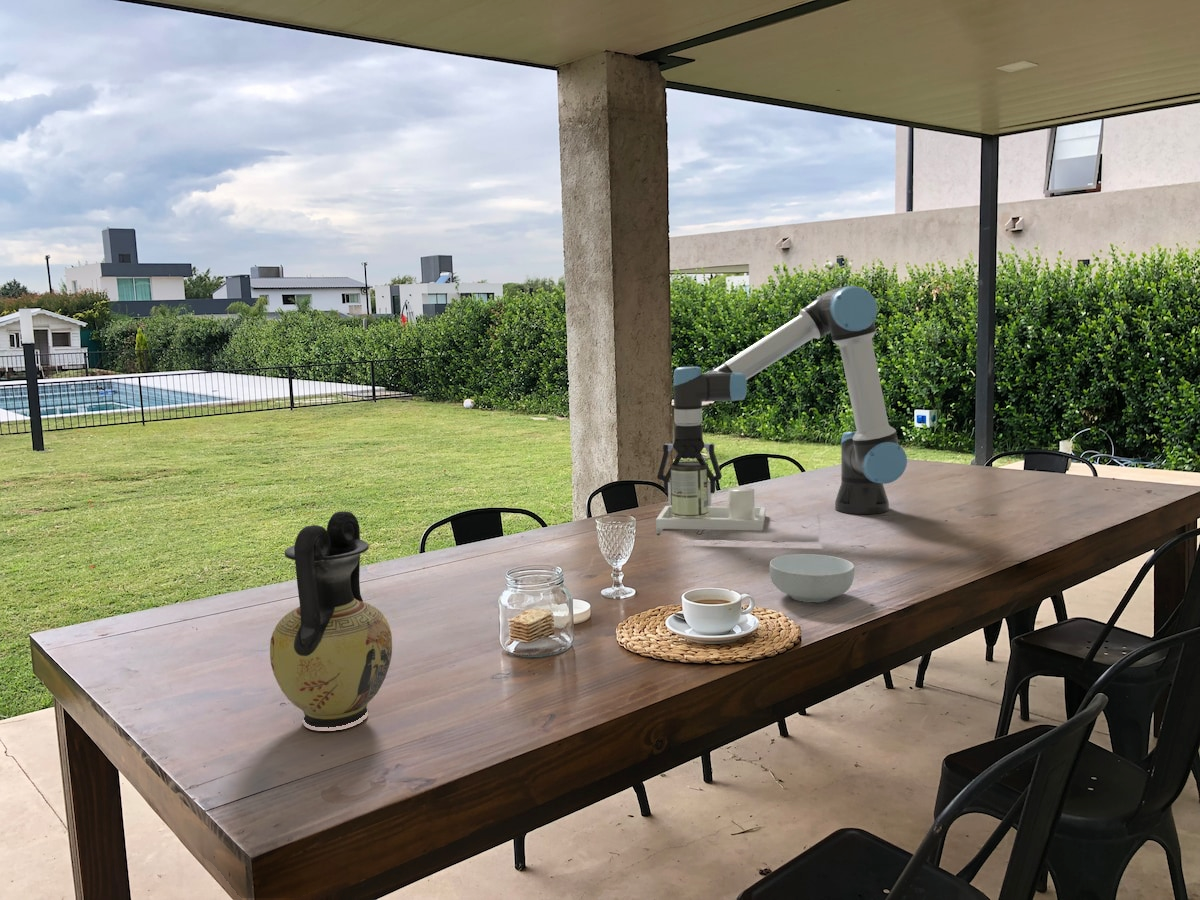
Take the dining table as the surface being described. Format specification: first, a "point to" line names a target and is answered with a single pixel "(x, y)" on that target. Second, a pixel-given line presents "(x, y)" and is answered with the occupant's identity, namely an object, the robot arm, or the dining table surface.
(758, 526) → the tray
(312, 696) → the amphora
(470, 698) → the dining table surface
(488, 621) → the dining table surface
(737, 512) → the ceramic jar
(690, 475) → the coffee can
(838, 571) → the cereal bowl
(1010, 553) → the dining table surface
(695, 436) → the robot arm
